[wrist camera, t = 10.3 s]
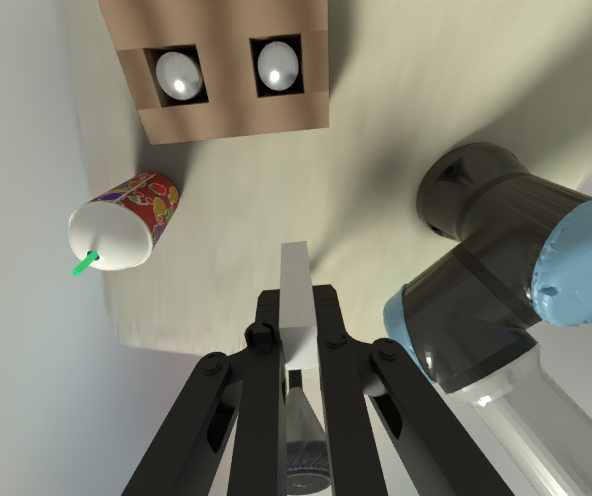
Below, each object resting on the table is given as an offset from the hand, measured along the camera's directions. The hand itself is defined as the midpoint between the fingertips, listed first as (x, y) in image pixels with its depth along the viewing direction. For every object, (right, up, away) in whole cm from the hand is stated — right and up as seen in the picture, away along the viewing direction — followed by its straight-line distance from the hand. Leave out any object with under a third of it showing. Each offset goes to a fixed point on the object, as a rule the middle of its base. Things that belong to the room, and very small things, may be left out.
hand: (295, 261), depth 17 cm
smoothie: (-21, +9, +24) cm, 33 cm away
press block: (-7, +23, +17) cm, 29 cm away
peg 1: (-12, +22, +17) cm, 30 cm away
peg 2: (-2, +23, +17) cm, 29 cm away
